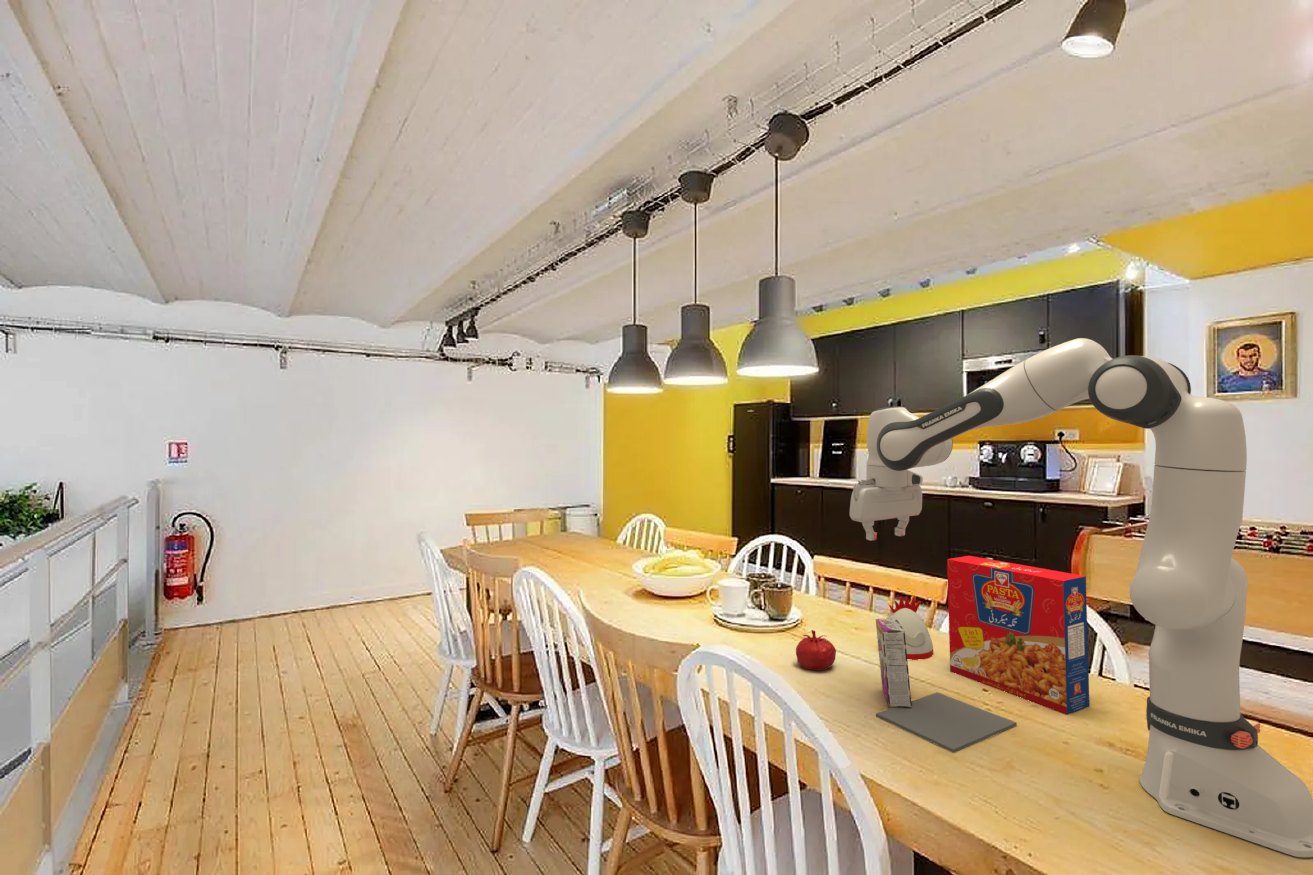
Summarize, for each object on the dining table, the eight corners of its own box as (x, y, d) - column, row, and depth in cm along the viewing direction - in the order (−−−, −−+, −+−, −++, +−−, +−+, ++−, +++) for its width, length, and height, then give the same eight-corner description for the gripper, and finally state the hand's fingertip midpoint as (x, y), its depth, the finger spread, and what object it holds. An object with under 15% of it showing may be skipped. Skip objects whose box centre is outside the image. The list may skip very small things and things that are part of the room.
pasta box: (950, 671, 155) (947, 559, 155) (971, 665, 158) (968, 555, 158) (1066, 715, 129) (1063, 580, 130) (1089, 706, 133) (1085, 576, 133)
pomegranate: (827, 677, 154) (826, 640, 153) (789, 668, 160) (788, 632, 159) (842, 664, 161) (841, 628, 161) (805, 656, 168) (804, 622, 167)
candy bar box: (880, 689, 145) (874, 618, 146) (903, 690, 144) (897, 617, 145) (888, 708, 134) (881, 630, 135) (912, 708, 133) (906, 630, 134)
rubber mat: (1016, 725, 125) (1016, 722, 125) (953, 752, 115) (953, 749, 115) (937, 694, 141) (937, 692, 141) (875, 716, 131) (875, 713, 131)
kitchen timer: (942, 659, 163) (940, 602, 163) (889, 660, 163) (887, 603, 163) (920, 642, 177) (919, 589, 177) (871, 643, 177) (870, 590, 177)
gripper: (865, 481, 134) (864, 545, 135) (927, 476, 144) (926, 535, 145) (843, 479, 140) (842, 540, 141) (904, 474, 150) (904, 531, 151)
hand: (885, 537), depth 143 cm, fingers open, 8 cm apart
